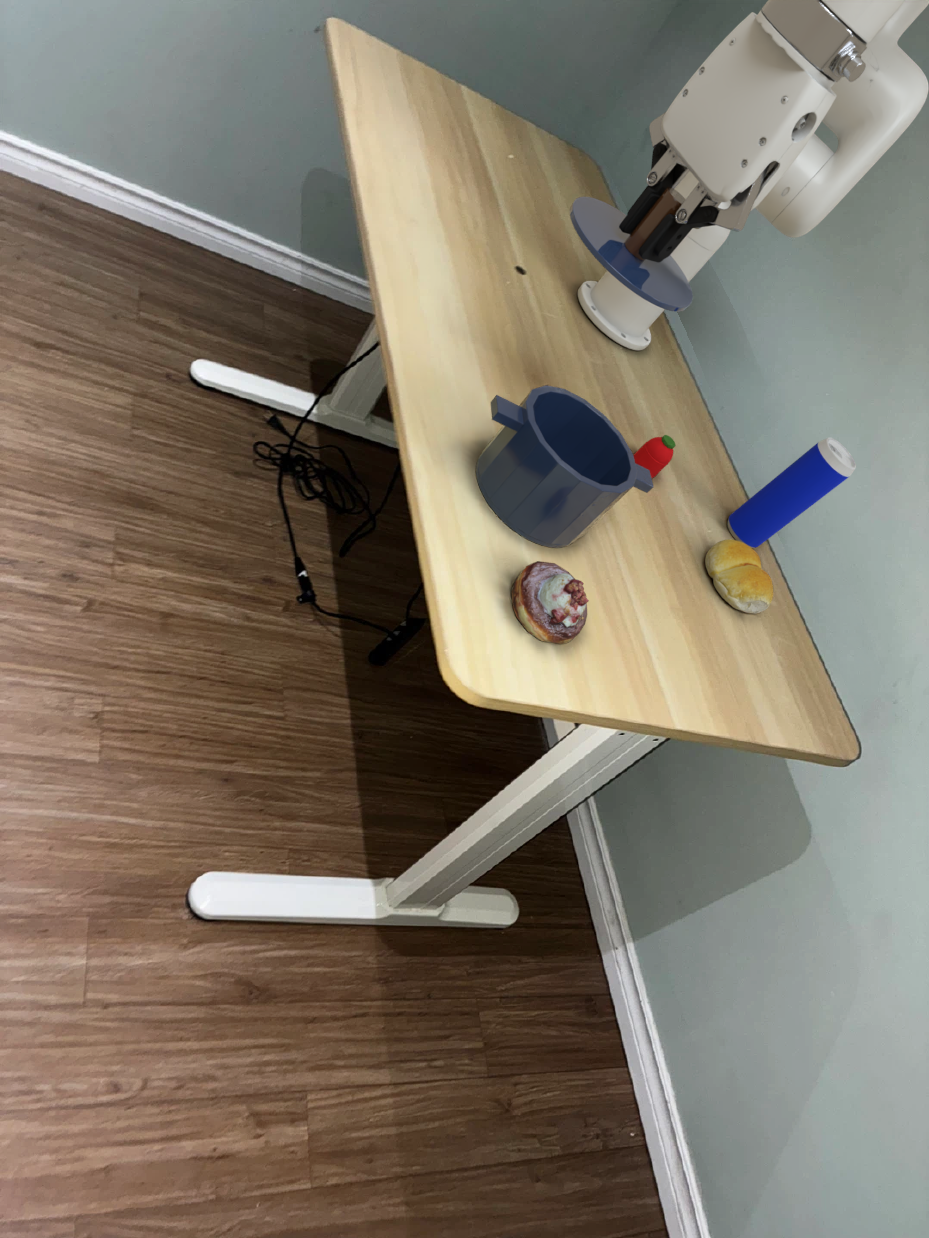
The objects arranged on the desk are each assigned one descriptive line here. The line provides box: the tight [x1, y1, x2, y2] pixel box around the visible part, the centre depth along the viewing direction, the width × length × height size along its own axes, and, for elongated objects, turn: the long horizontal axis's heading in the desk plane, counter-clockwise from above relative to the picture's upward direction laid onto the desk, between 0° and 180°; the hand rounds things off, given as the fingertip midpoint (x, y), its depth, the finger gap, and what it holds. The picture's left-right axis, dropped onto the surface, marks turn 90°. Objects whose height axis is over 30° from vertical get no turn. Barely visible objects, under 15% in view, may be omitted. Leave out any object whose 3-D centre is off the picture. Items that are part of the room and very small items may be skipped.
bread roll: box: [704, 538, 774, 614], centre depth 91 cm, size 8×9×4 cm
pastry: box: [511, 560, 590, 645], centre depth 70 cm, size 8×8×5 cm
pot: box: [475, 385, 654, 549], centre depth 77 cm, size 13×18×8 cm
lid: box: [569, 187, 694, 313], centre depth 70 cm, size 14×14×7 cm
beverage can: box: [727, 437, 857, 549], centre depth 96 cm, size 5×5×15 cm
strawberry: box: [633, 434, 676, 479], centre depth 95 cm, size 4×4×4 cm
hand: (640, 244), depth 71 cm, fingers closed on lid, 2 cm apart
